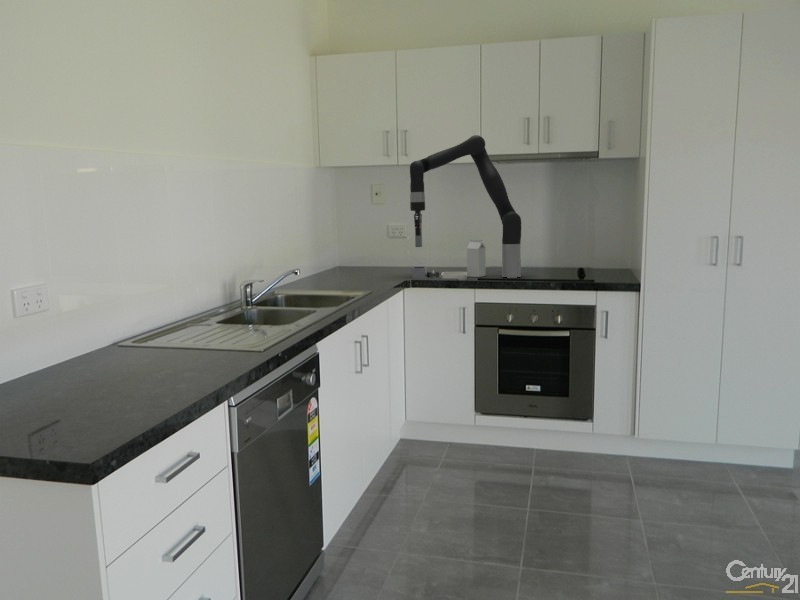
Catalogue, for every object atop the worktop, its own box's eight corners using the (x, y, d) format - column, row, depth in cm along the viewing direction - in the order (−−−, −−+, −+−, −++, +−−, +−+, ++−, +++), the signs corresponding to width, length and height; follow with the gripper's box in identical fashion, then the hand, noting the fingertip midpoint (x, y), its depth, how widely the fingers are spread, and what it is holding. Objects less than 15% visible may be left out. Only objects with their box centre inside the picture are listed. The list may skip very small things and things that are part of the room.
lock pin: (422, 246, 345) (421, 223, 343) (421, 247, 342) (421, 223, 340) (415, 246, 346) (415, 223, 344) (415, 247, 342) (414, 223, 340)
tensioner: (440, 277, 350) (440, 266, 349) (439, 280, 340) (438, 268, 339) (413, 277, 352) (413, 266, 351) (411, 280, 342) (411, 268, 341)
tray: (467, 277, 348) (467, 271, 348) (466, 280, 336) (466, 274, 336) (442, 277, 350) (442, 271, 349) (440, 280, 338) (440, 274, 338)
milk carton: (478, 277, 346) (478, 240, 343) (466, 276, 351) (466, 240, 348) (485, 276, 352) (485, 239, 349) (473, 275, 356) (473, 239, 353)
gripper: (423, 201, 333) (424, 236, 335) (426, 200, 346) (427, 234, 349) (408, 201, 334) (409, 236, 336) (411, 201, 347) (412, 234, 350)
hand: (418, 235), depth 343 cm, fingers closed on lock pin, 3 cm apart
